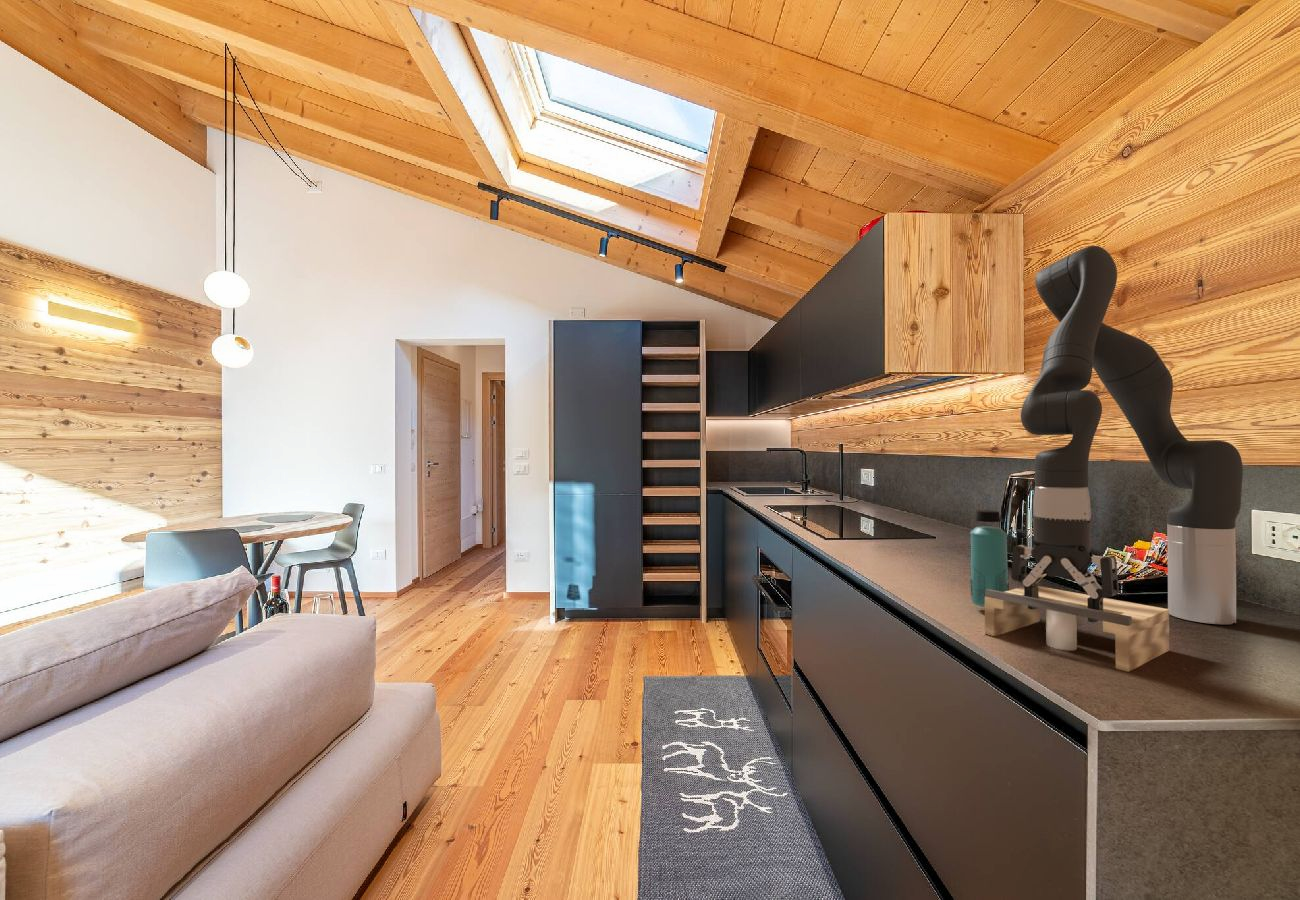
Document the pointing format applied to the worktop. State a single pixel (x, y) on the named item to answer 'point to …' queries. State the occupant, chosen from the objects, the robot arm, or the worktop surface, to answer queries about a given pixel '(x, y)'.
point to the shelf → (1132, 623)
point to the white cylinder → (1061, 630)
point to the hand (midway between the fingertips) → (1062, 614)
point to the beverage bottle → (988, 558)
